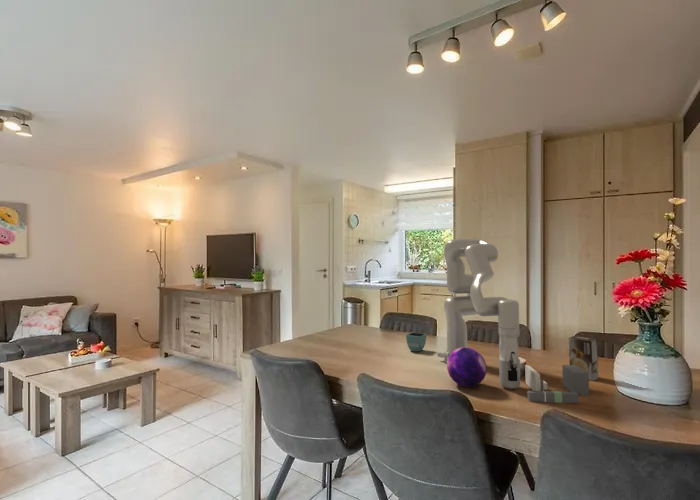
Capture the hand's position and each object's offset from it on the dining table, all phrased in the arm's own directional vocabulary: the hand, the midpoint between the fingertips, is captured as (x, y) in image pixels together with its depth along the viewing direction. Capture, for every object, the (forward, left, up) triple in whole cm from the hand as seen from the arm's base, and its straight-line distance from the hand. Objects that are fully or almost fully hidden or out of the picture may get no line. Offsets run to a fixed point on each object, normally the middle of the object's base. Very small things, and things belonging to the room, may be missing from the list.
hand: (509, 376), depth 144 cm
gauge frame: (+15, -4, -4) cm, 16 cm away
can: (0, 0, -4) cm, 4 cm away
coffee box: (+34, +17, -4) cm, 38 cm away
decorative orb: (-16, +1, -4) cm, 17 cm away
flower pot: (-34, +55, -4) cm, 65 cm away
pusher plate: (+10, -2, -4) cm, 11 cm away
